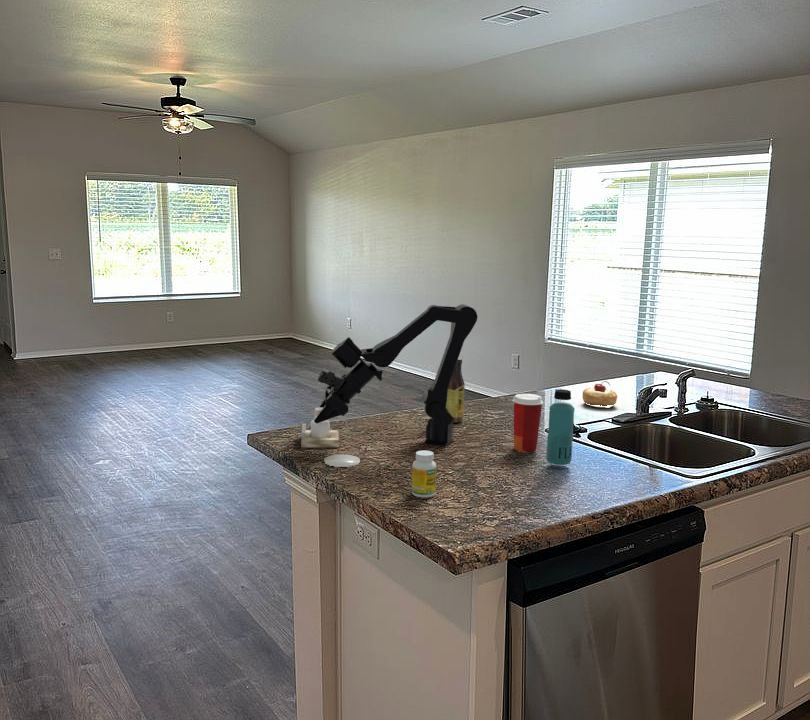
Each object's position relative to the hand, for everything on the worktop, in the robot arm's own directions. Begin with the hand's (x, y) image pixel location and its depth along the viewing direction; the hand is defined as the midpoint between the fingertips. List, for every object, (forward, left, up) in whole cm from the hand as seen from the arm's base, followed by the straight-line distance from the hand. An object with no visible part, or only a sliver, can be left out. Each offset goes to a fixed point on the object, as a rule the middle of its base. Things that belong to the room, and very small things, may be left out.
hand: (315, 419), depth 201 cm
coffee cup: (-52, -25, -7) cm, 58 cm away
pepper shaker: (-1, -1, -7) cm, 7 cm away
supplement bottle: (-43, +21, -7) cm, 49 cm away
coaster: (-16, +11, -7) cm, 20 cm away
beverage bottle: (-64, -15, -7) cm, 66 cm away
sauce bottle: (-23, -43, -7) cm, 49 cm away
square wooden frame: (-1, -1, -7) cm, 7 cm away
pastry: (-58, -92, -7) cm, 109 cm away
